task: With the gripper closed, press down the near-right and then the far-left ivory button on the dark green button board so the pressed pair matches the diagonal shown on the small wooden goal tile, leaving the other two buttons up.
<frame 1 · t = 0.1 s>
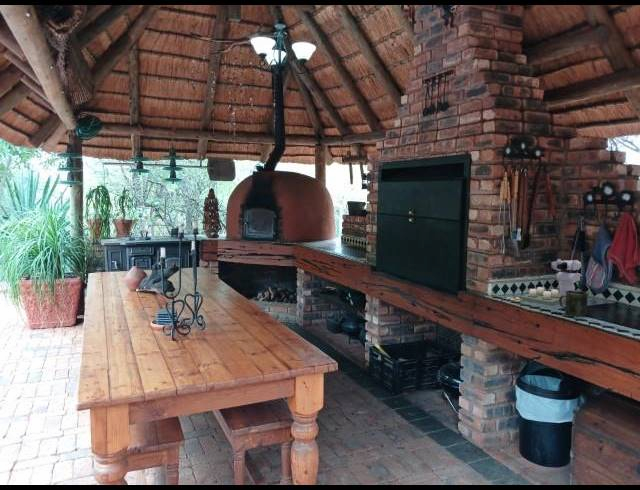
hand: (551, 265, 302), 22 cm above the table, tool horizontal, fingers open, 7 cm apart
mug: (572, 314, 273), on the table
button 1: (554, 293, 306), point 4 cm above the table, slide at 0.0 cm
button board: (543, 300, 308), on the table
goal tile: (515, 299, 311), on the table
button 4: (532, 293, 308), point 4 cm above the table, slide at 0.0 cm
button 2: (547, 295, 301), point 4 cm above the table, slide at 0.0 cm
button 3: (540, 291, 314), point 4 cm above the table, slide at 0.0 cm
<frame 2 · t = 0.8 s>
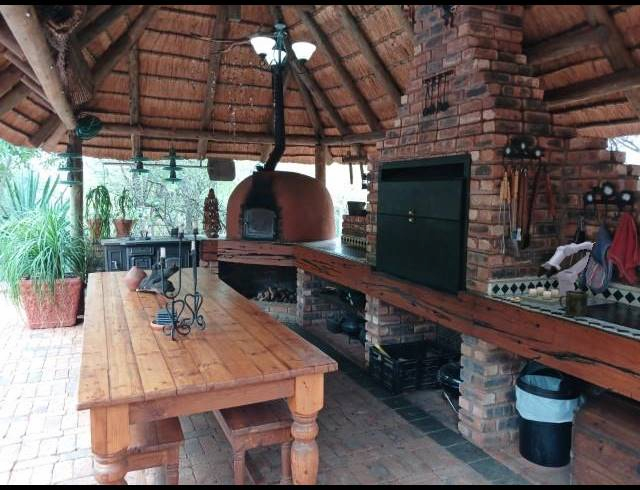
hand: (542, 276, 307), 14 cm above the table, tool tilted 50°, fingers open, 7 cm apart
nothing on the table moved.
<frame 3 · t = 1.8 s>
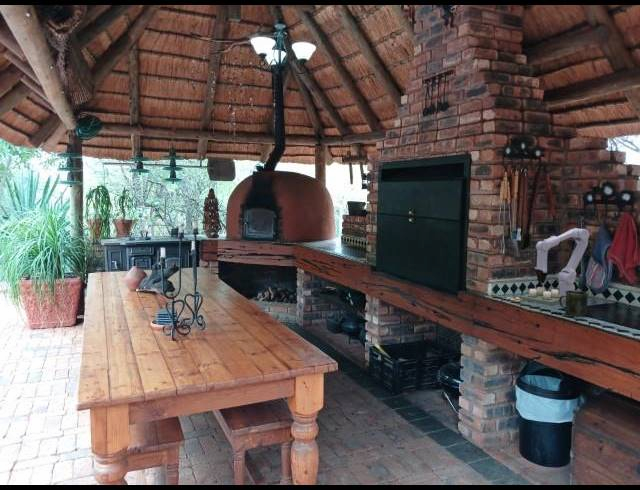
hand: (541, 282, 313), 10 cm above the table, tool pointing down, fingers open, 5 cm apart
nothing on the table moved.
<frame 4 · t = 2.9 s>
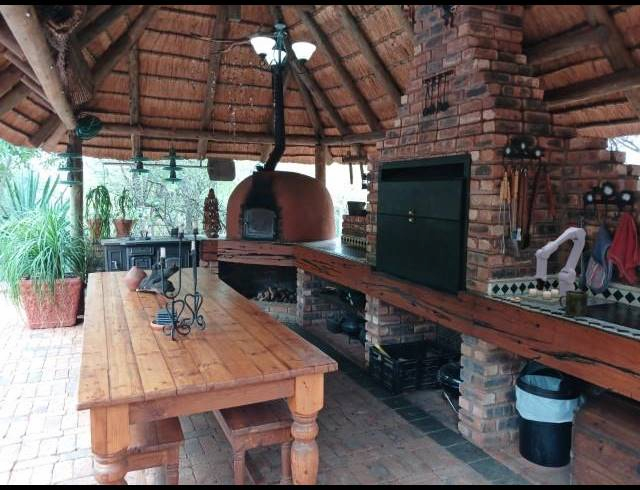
hand: (540, 290, 313), 5 cm above the table, tool pointing down, fingers closed, pressing on button 3
button 3: (540, 293, 314), point 3 cm above the table, slide at 1.7 cm, touching gripper
everything else where it was.
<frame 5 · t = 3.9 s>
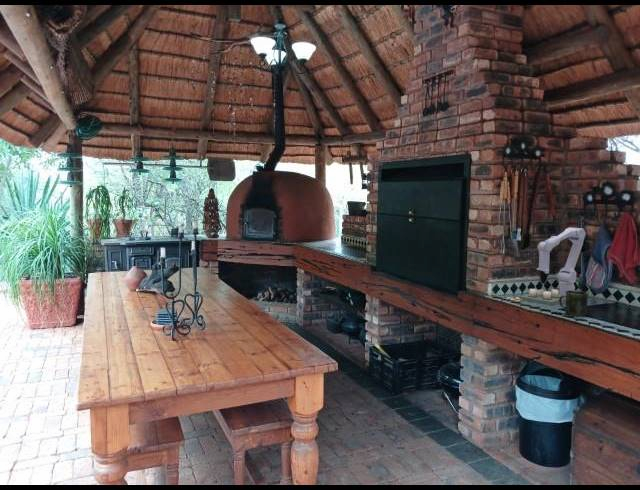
hand: (543, 283, 308), 10 cm above the table, tool pointing down, fingers closed
button 3: (540, 293, 314), point 3 cm above the table, slide at 1.7 cm
everything else where it was.
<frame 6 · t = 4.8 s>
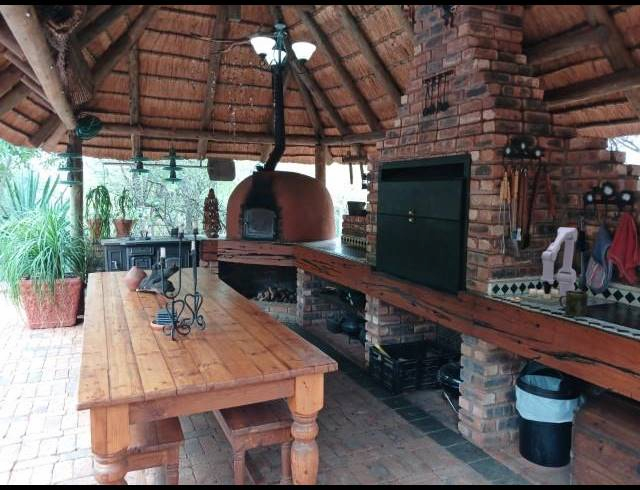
hand: (547, 293, 301), 5 cm above the table, tool pointing down, fingers closed, pressing on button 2
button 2: (546, 297, 301), point 3 cm above the table, slide at 1.3 cm, touching gripper
everything else where it was.
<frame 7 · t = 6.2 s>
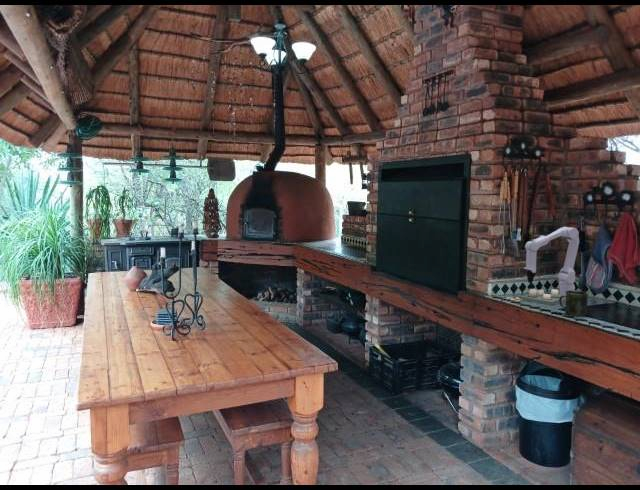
hand: (530, 282, 312), 10 cm above the table, tool pointing down, fingers closed
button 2: (546, 298, 301), point 3 cm above the table, slide at 1.7 cm
everything else where it was.
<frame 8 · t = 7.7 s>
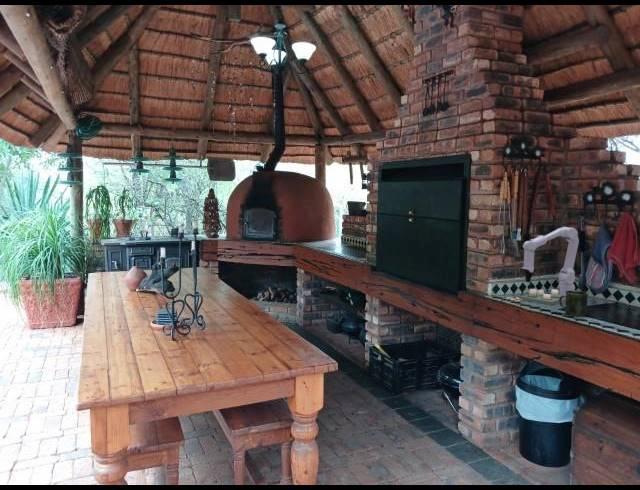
hand: (528, 282, 314), 10 cm above the table, tool pointing down, fingers closed
nothing on the table moved.
at the end: button 3 slide at 1.7 cm; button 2 slide at 1.7 cm; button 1 slide at 0.0 cm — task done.
